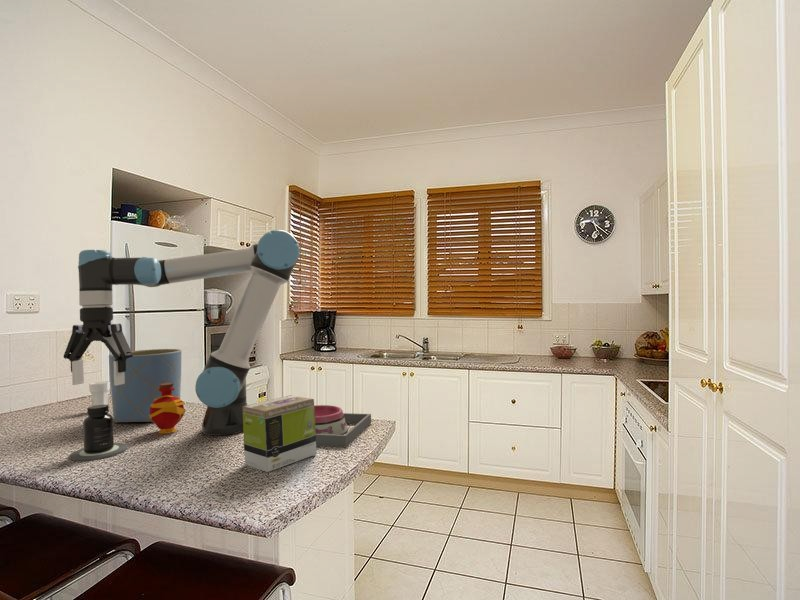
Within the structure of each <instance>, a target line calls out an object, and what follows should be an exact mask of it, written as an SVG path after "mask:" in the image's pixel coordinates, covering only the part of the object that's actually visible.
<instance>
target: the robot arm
mask: <svg viewBox="0 0 800 600" xmlns="http://www.w3.org/2000/svg"><path fill="white" fill-rule="evenodd" d="M300 253H301V248H300V244H299V242H298V240H297V239H296V238H295V237H294V235H293V234H291V233H289V232H288V231H286V230H283V229H274V230H270V231H267V232H266V233H265V234H263V235H262V236H261V237H260V238H259V240H258V243H253V244H251V245H250V247H249V248H241V249H234V250H225V251H221V252H211V253H206V254H197V255H196V254H195V255H190V256H189V255H188V256H182V257H176V258H167V259H160V260H158V259H157V258H155V257H147V256H146V257H145V256H142V257H114V256H113V255H112V252H110V251H109V250H106V249H105V250H104V249H85V250H84V249H83V250H81V251H80V252H79V254H78V266H77V270H78V283H79V284H78V287H79V288H78V290H79V292H78V293H79V295H78V296H79V299H78V301H79V302H78V304H79V306H80V307H81V308H80V309H79V320H80V322H82V324H73V325H72V328H71V329H72V330H71V335H70V338H69V340H68V343H67V345H66V348H65V351H64V354H63V358H64V359H67V360H68V361H70V372H71V373H72V374H71V375H72V376H71V379H72V386H78V385H81V384H82V385H83V384H84V381H85V380H84V379H85V377H84V374H85V373H84V359H82V358H83V355H84V354H85V352H86V351H87V349H88V348H89V346H90V345H91V344H92V342H95V341H96V342H101V343H103V344H104V345H105V347H106V348H107V349H108V351H109V352H110V354H112V355H113V356H114V357H115V360H114V361H113V362H114V386H117V385H121V384H125V375H124V372H126V359H127V358H130V357H132V356H133V354H132V352H131V351H132V349H131V348H130V346H129V343H128V341H127V338H126V337H125V334H124V332H123V327H122V326H123V325H122V324H121V323H112V322H111V321H113V320H114V308H113V307H112V305H113V285H114V286H119V285H122V286H123V285H125V286H126V285H128V286H129V285H131V286H132V285H133V286H135V285H136V286H137V285H138V286H144V287H147V288H157V287H160V286H163V285H169V284H175V283H177V284H178V283H183V282H189V281H195V280H204V279H211V278H216V277H223V276H230V275H239V274H245V273H252V274H251V276H250V279H249V281H248V283H247V285H246V288H245V290H244V293H243V295H242V297H241V298H240V300H239V301H240V302H239V304H238V306H237V308H236V310H235V312H234V315H233V316H232V317H233V318H232V320H231V321H230V323H229V326H228V328H227V331H226V332H225V335H224V337H223V340H222V342H221V344H220V346H219V348H218V349H217V350H215V351H213V352H211V353H210V355H209V357H208V358H207V359H206V364H205V366H204V368H203V370H202V372H201V373H200V375H198V377H197V378H196V381H195V385H194V386H195V388H194V389H195V394H196V396H197V398H198V400H199V401H200V402H201V403H202V404H204V405H205V406H207V407H206V411H205V414H204V418H203V420H202V424H201V432H202V434H204V435H208V436H225V435H234V434H238V433H244V431H243V406H247V405H248V402H247V376H248V373H249V371H250V368H251V365H250V363H249V358H250V355H251V353H252V351H253V349H254V347H255V345H256V341H257V339H258V337H259V335H260V333H261V330H262V328H263V325H264V324H265V321H266V319H267V316H268V314H269V312H270V309H271V307H272V305H273V303H274V300H275V299H276V297H277V294H278V291H279V289H280V287H281V285H284V284H286V283H288V281H289V280H290V277H291V275H292V273H293V271H294V268H295V266H296V264H297V262H298V261H299V257H300Z"/></svg>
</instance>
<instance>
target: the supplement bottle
mask: <svg viewBox="0 0 800 600" xmlns="http://www.w3.org/2000/svg"><path fill="white" fill-rule="evenodd" d="M86 409H87V410H86V411H87V412H86V415H87V416H86V417H85V418H84V419H83V423H82V430H83V431H82V432H83V433H82V434H83V448H84V452H85V453H87V454H97V453H102V452H106V451H109V450H111V449H112V448H113V447H114V443H115V442H114V441H115V440H114V439H115V438H114V418H113V415H112V414H110V413H109V412H110V408H109V404H108V405H95V406H92V405H90V406H88V407H87V408H86Z"/></svg>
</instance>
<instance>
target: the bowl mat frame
mask: <svg viewBox="0 0 800 600" xmlns="http://www.w3.org/2000/svg"><path fill="white" fill-rule="evenodd" d="M343 414H344V418H345V422H346V424H355V425H354V426H353V427H351V428H350V429H348V432H347V433H346V434H344V435H334V434H316V447H318V446H320V447H339V448H340V447H343V448H347V447H348V446H349V445H350V444H351V443H352V442H353V441H354V440H355V439H356V438H357V437H358V436H359V435H360V434H361V433H363V432H364V431H365V430H366V429H367V428H368V427H369V426H370V425H371V424H372V413H351V412H350V413H348V412H346V413H345V412H343Z"/></svg>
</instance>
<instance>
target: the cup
mask: <svg viewBox="0 0 800 600" xmlns="http://www.w3.org/2000/svg"><path fill="white" fill-rule="evenodd" d="M88 385H89V386H88V388H89V389H88V390H89V392H90V395H91V406H95V405H108V406H109V391H111V384H110V380H109V381H108V380H105V381H104V380H103V381H94V382H90V383H88Z"/></svg>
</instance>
